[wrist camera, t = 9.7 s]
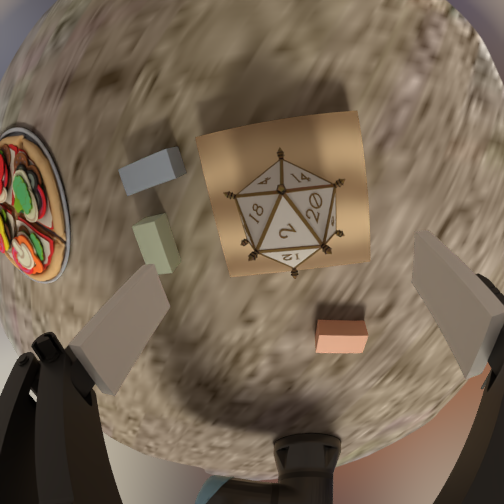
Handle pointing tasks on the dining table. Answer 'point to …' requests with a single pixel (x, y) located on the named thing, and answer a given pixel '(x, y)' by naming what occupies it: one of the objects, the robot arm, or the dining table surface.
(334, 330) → the terracotta brick
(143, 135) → the dining table surface
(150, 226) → the sage brick
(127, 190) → the slate blue brick
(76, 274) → the dining table surface
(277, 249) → the game die
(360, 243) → the oak block
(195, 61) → the dining table surface
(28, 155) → the toy pizza
